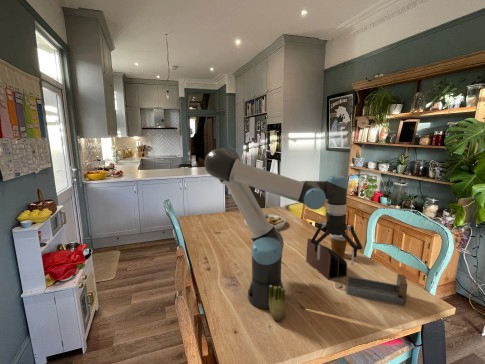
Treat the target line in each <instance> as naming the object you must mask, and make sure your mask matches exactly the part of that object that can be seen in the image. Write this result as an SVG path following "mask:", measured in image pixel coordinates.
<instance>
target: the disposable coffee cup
mask: <svg viewBox="0 0 485 364" xmlns="http://www.w3.org/2000/svg"><path fill="white" fill-rule="evenodd" d="M347 235H348V233H347ZM348 236H349V235H348ZM329 238H330V243H331V250H333V251H334V252H335V253H337V254H338V255H339V256H341V257H342V258H343V257H345V255H346V248H347V243H348V242H347V240H346V239H345V238H344V237H343V236H342V235H340V236H337V235H332V234H329Z"/></svg>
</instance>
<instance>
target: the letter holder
mask: <svg viewBox="0 0 485 364" xmlns="http://www.w3.org/2000/svg"><path fill="white" fill-rule="evenodd" d="M311 240H312V238H309V237H308V238H307V241H306V242H307V243H306V254H305V255H306V257H305V258H306V259H305V262H306V263H308V264H309V266H311V267H312V268H313V269H314V270H316V271H317V272H319V273H320V274H321V275H322V276H323V277H325V279H326V280H328V281H330V280H337V279H341V278H346V277H347V276H348V262H347V261H346V259H345V258H343V257H341V256H339V255H338V254H337V253H335V252H334V251H333V250H332V248H330V247H327V246H325V245H322V244H321V243H320V259H319V260H317V252H315V244H314V243H311Z"/></svg>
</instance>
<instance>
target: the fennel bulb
mask: <svg viewBox="0 0 485 364" xmlns="http://www.w3.org/2000/svg"><path fill="white" fill-rule="evenodd" d="M284 295H285V296H286V289H285V288H282V289H281V287H280V286H278V297H277V287H273V286H272V285H270V286H269V309H268V310H269V313H270V315H271V317H272V319H273V320H275V321H281V320H283V319H284V318H285V317H286V314H287V313H286V312H287V311H286V300H285V301H284Z"/></svg>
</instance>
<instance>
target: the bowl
mask: <svg viewBox="0 0 485 364" xmlns="http://www.w3.org/2000/svg"><path fill="white" fill-rule="evenodd" d="M263 214H264V216H265V217H266V219H267V221H268V223H270V224H273V225H274V227H275V229H276V230H277V229H278V230H280V229H282V228H283V227H284V226H285V225H286V219H285V217H283V216H282V215H281V216H280V215H278V214H272V213H263ZM243 220H244V224H245V226H246V227H247V228H249V226H248V225H247V223H246V221H245V219H243ZM278 230H277V231H278Z"/></svg>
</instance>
